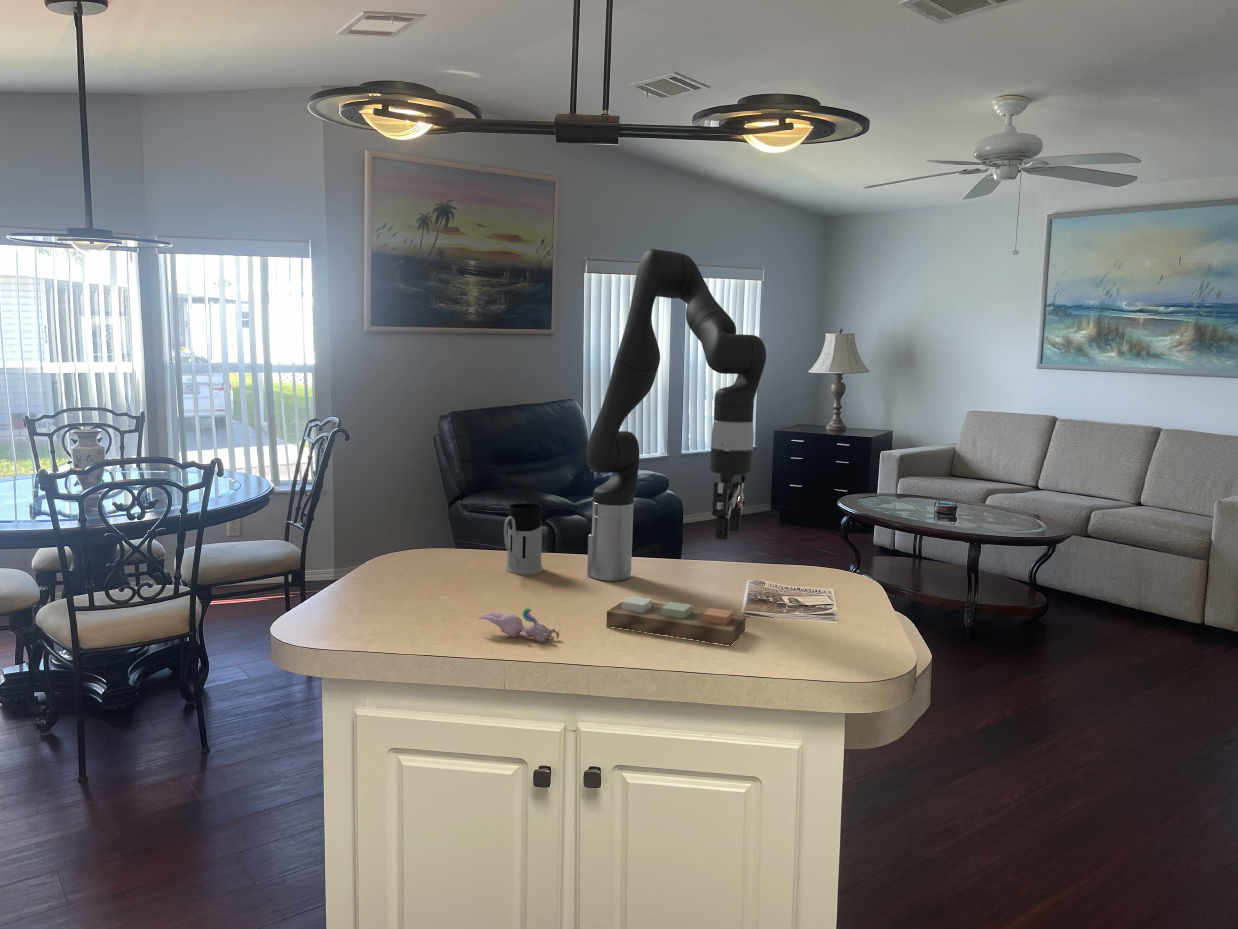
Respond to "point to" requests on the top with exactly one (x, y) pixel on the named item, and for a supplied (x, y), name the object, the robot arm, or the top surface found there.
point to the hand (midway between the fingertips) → (728, 534)
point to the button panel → (676, 624)
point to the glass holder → (524, 538)
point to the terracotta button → (718, 616)
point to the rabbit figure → (520, 626)
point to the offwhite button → (636, 604)
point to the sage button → (676, 610)
